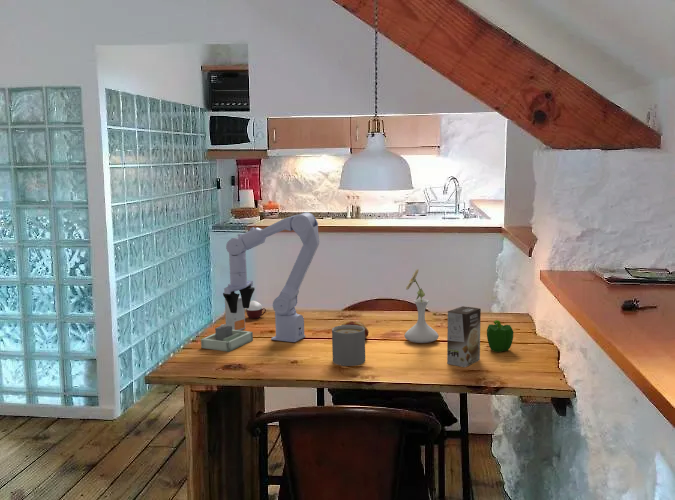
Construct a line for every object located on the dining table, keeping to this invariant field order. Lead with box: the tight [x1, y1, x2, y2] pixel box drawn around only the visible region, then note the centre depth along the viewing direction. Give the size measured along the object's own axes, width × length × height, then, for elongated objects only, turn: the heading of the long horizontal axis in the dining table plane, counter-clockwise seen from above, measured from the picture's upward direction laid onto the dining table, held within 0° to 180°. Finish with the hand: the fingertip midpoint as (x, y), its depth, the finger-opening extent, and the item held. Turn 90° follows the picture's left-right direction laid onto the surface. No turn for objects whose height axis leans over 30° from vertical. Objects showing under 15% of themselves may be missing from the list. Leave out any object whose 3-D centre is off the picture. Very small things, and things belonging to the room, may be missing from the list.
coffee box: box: [446, 305, 482, 368], centre depth 196 cm, size 9×6×16 cm
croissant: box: [341, 320, 369, 339], centre depth 225 cm, size 21×10×8 cm, turn 162°
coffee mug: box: [331, 324, 366, 367], centre depth 202 cm, size 13×10×10 cm
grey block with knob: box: [214, 323, 232, 341], centre depth 222 cm, size 4×4×6 cm
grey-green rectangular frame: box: [200, 330, 254, 353], centre depth 222 cm, size 11×14×3 cm
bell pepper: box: [486, 319, 514, 353], centre depth 208 cm, size 8×8×10 cm
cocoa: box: [245, 300, 267, 320], centre depth 257 cm, size 10×6×12 cm, turn 84°
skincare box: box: [224, 295, 246, 331], centre depth 239 cm, size 6×4×12 cm
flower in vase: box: [404, 268, 440, 344], centre depth 218 cm, size 13×11×25 cm
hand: (239, 310), depth 229 cm, fingers open, 7 cm apart
